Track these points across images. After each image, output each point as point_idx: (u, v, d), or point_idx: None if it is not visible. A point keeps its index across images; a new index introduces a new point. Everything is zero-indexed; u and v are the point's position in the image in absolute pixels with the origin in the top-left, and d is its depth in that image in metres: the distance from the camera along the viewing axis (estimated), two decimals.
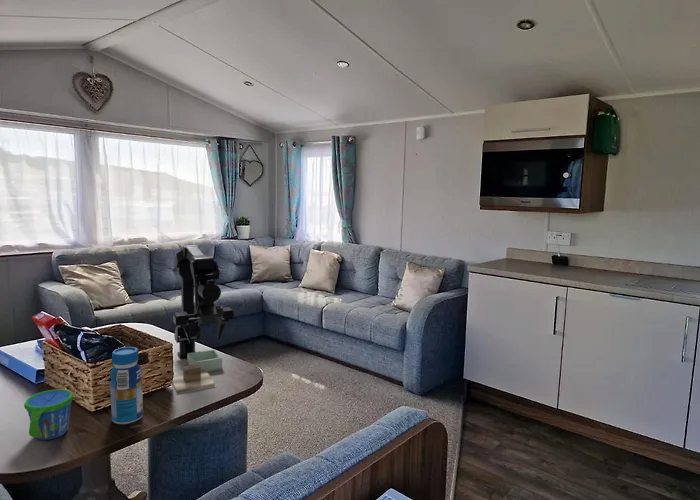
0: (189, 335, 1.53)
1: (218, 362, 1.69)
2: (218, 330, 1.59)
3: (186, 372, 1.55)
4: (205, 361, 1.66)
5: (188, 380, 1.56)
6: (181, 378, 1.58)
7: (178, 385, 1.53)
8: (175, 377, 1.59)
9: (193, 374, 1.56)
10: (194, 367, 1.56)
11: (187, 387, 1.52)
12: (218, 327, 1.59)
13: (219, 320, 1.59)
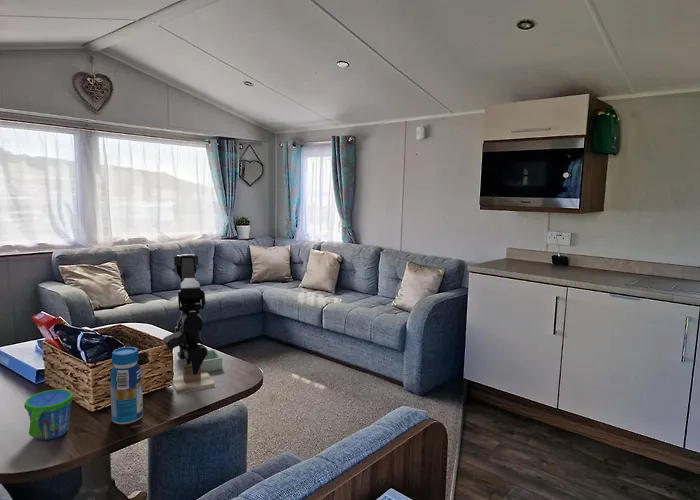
0: (185, 356, 1.61)
1: (218, 362, 1.69)
2: None
3: (186, 372, 1.55)
4: (205, 361, 1.66)
5: (188, 380, 1.56)
6: (181, 378, 1.58)
7: (178, 385, 1.53)
8: (175, 377, 1.59)
9: (193, 374, 1.56)
10: None
11: (187, 387, 1.52)
12: None
13: None
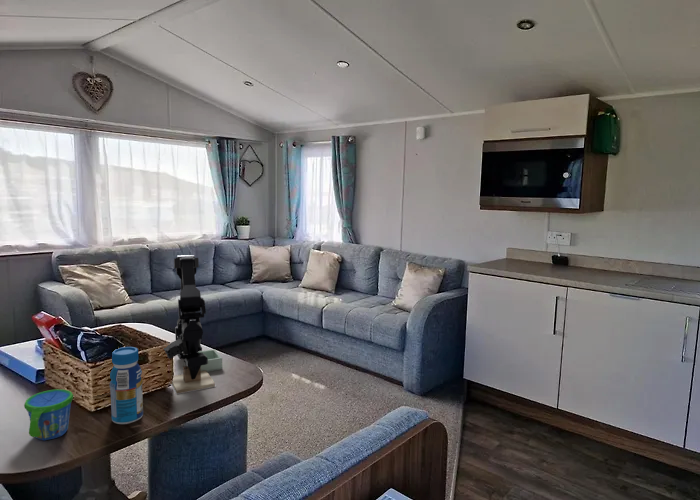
0: None
1: (218, 362, 1.69)
2: None
3: (186, 372, 1.55)
4: None
5: (188, 380, 1.56)
6: (181, 378, 1.58)
7: (178, 385, 1.53)
8: (175, 377, 1.59)
9: None
10: None
11: (187, 387, 1.52)
12: None
13: None
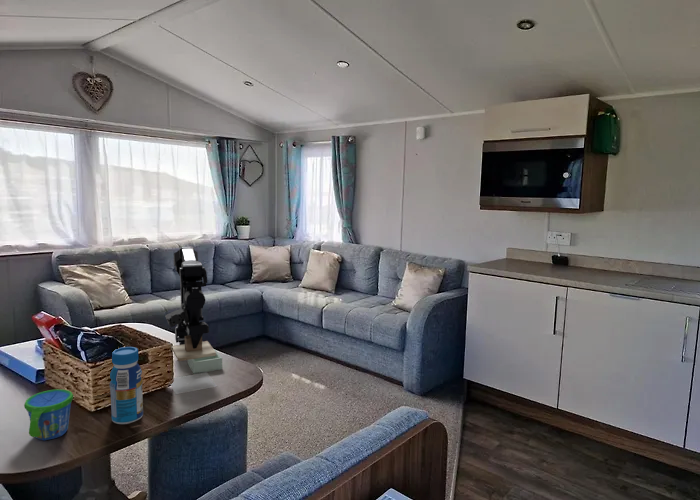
0: None
1: (218, 362, 1.69)
2: None
3: (187, 341, 1.56)
4: (205, 361, 1.66)
5: (189, 349, 1.57)
6: (183, 348, 1.59)
7: (179, 354, 1.54)
8: (177, 347, 1.60)
9: None
10: None
11: (188, 355, 1.53)
12: None
13: None
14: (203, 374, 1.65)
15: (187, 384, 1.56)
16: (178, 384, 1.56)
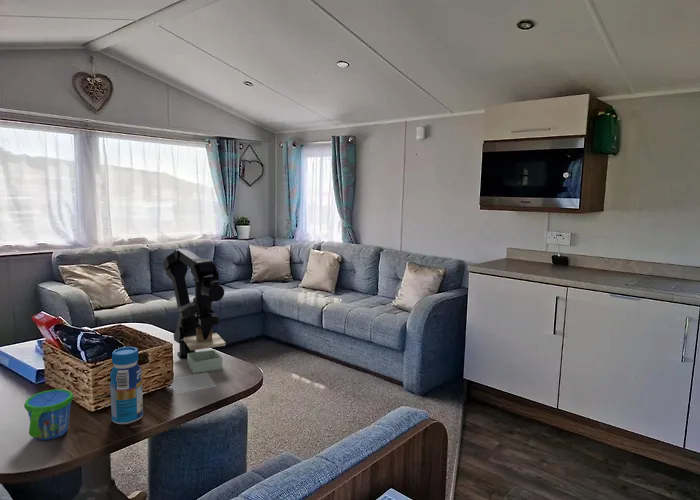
0: None
1: (218, 362, 1.69)
2: None
3: (199, 332, 1.67)
4: (205, 361, 1.66)
5: (201, 340, 1.68)
6: (194, 339, 1.71)
7: (191, 344, 1.65)
8: (188, 338, 1.72)
9: None
10: None
11: (200, 345, 1.64)
12: None
13: None
14: (203, 374, 1.65)
15: (187, 384, 1.56)
16: (178, 384, 1.56)
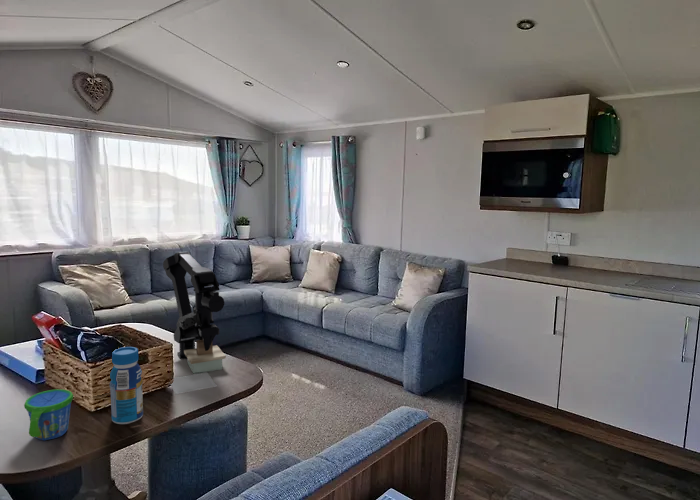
0: (198, 337, 1.73)
1: (218, 362, 1.69)
2: None
3: (199, 345, 1.68)
4: None
5: (201, 353, 1.69)
6: (195, 352, 1.72)
7: (192, 357, 1.66)
8: (189, 351, 1.72)
9: None
10: None
11: (200, 359, 1.65)
12: None
13: None
14: (203, 374, 1.65)
15: (187, 384, 1.56)
16: (178, 384, 1.56)
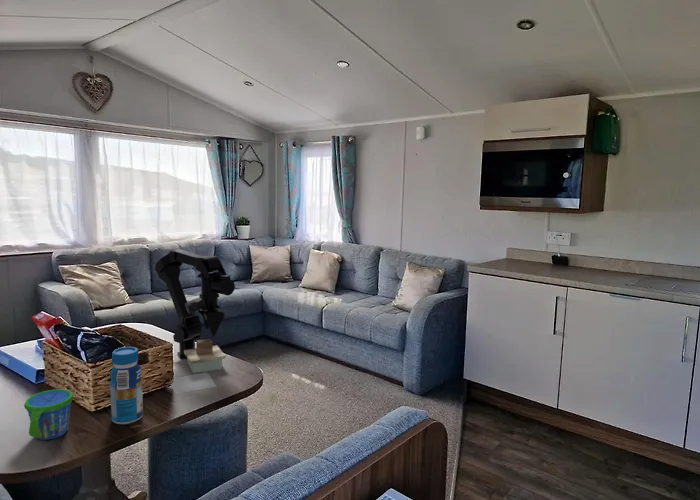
0: None
1: (218, 362, 1.69)
2: None
3: (199, 345, 1.68)
4: None
5: (201, 353, 1.69)
6: (195, 352, 1.72)
7: (192, 357, 1.66)
8: (189, 351, 1.72)
9: (205, 347, 1.69)
10: (206, 341, 1.70)
11: (200, 359, 1.65)
12: None
13: None
14: (203, 374, 1.65)
15: (187, 384, 1.56)
16: (178, 384, 1.56)
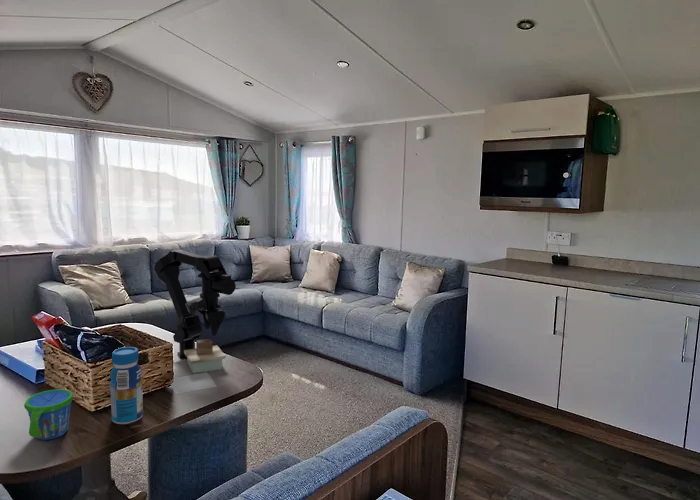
0: (204, 321, 1.77)
1: (218, 362, 1.69)
2: None
3: (199, 345, 1.68)
4: None
5: (201, 353, 1.69)
6: (195, 352, 1.72)
7: (192, 357, 1.66)
8: (189, 351, 1.72)
9: (205, 347, 1.69)
10: (206, 341, 1.70)
11: (200, 359, 1.65)
12: None
13: None
14: (203, 374, 1.65)
15: (187, 384, 1.56)
16: (178, 384, 1.56)
